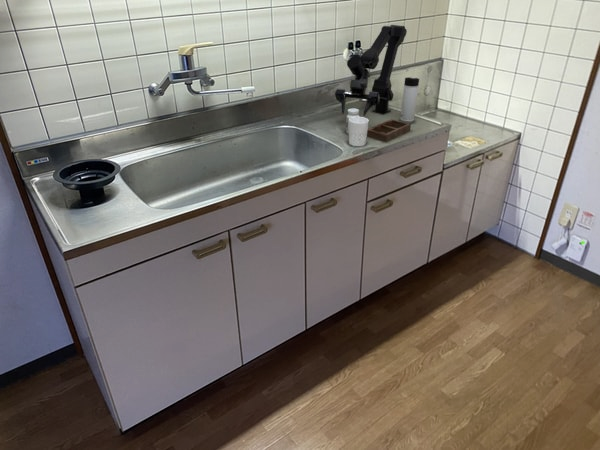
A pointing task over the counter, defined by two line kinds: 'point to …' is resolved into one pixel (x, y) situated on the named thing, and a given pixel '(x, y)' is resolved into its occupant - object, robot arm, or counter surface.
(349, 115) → the pill bottle
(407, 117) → the travel mug
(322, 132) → the counter surface
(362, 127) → the white cup
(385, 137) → the divided brown tray
